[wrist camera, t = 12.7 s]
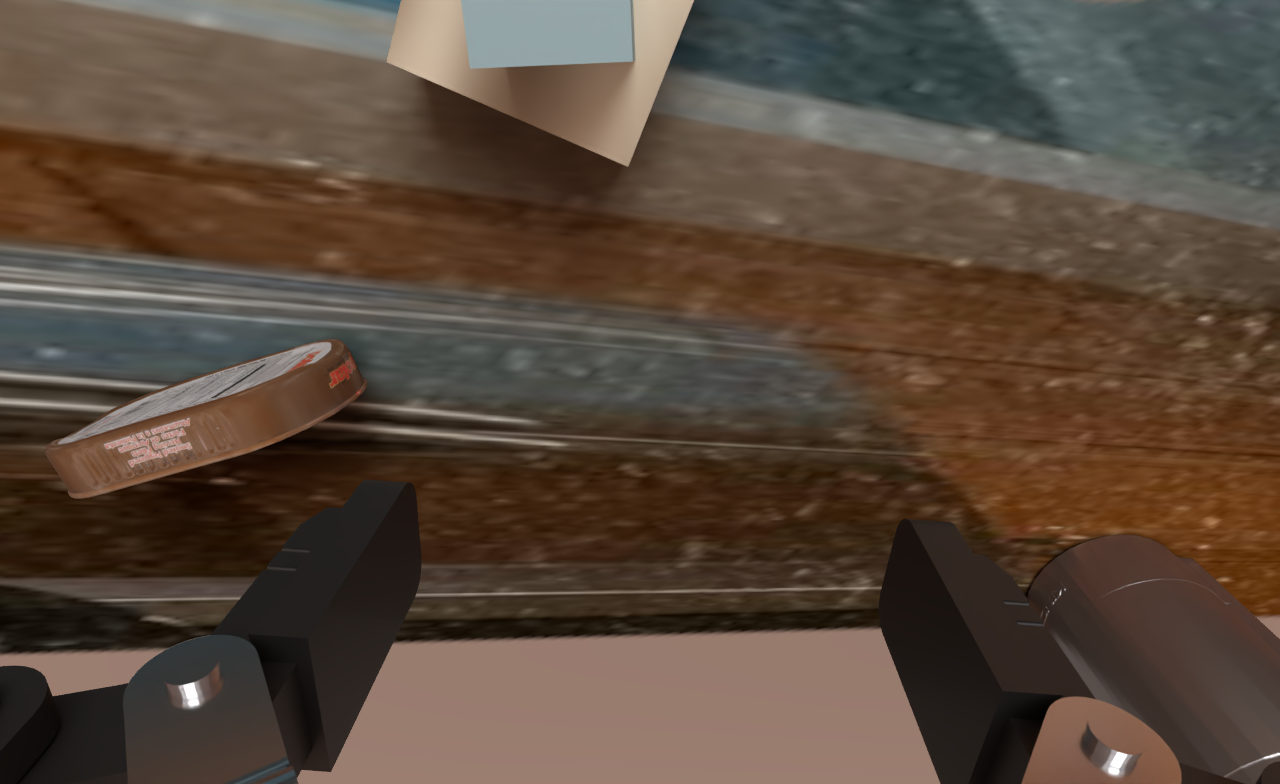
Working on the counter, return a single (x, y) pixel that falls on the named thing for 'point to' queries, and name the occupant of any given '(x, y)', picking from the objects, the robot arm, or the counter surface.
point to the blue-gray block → (548, 32)
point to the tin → (208, 418)
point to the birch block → (548, 75)
